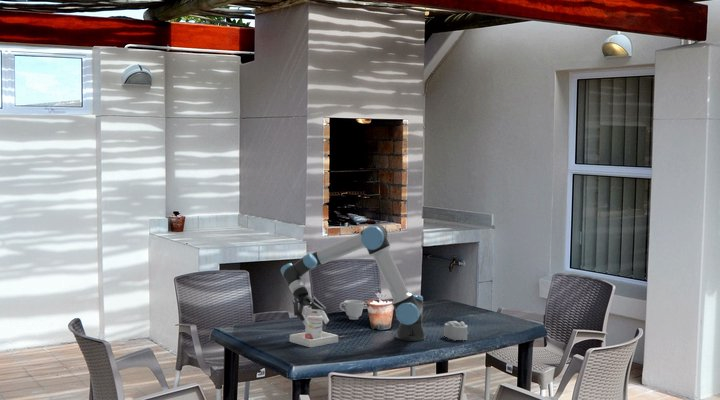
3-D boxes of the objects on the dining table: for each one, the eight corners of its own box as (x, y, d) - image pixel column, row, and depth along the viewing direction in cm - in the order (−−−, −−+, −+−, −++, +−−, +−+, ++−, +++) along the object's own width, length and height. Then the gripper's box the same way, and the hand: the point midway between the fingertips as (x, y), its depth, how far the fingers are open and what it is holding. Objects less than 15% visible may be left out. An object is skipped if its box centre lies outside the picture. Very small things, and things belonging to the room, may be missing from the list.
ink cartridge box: (304, 339, 454) (305, 310, 453) (305, 337, 459) (306, 308, 458) (321, 339, 455) (322, 311, 454) (321, 337, 460) (322, 309, 459)
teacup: (335, 317, 522) (336, 300, 522) (359, 316, 528) (360, 299, 527) (342, 321, 511) (343, 304, 510) (367, 320, 516) (367, 303, 516)
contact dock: (338, 342, 458) (338, 335, 458) (310, 347, 445) (310, 340, 445) (317, 336, 470) (317, 330, 469) (289, 341, 456) (289, 334, 456)
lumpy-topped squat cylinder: (456, 334, 485) (457, 319, 485) (471, 339, 474) (472, 323, 474) (441, 336, 480) (441, 320, 479) (456, 341, 469) (457, 325, 468)
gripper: (313, 292, 475) (331, 325, 466) (276, 297, 458) (295, 331, 448) (320, 283, 471) (339, 316, 462) (283, 288, 454) (302, 322, 444)
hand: (317, 323), depth 455 cm, fingers open, 13 cm apart
